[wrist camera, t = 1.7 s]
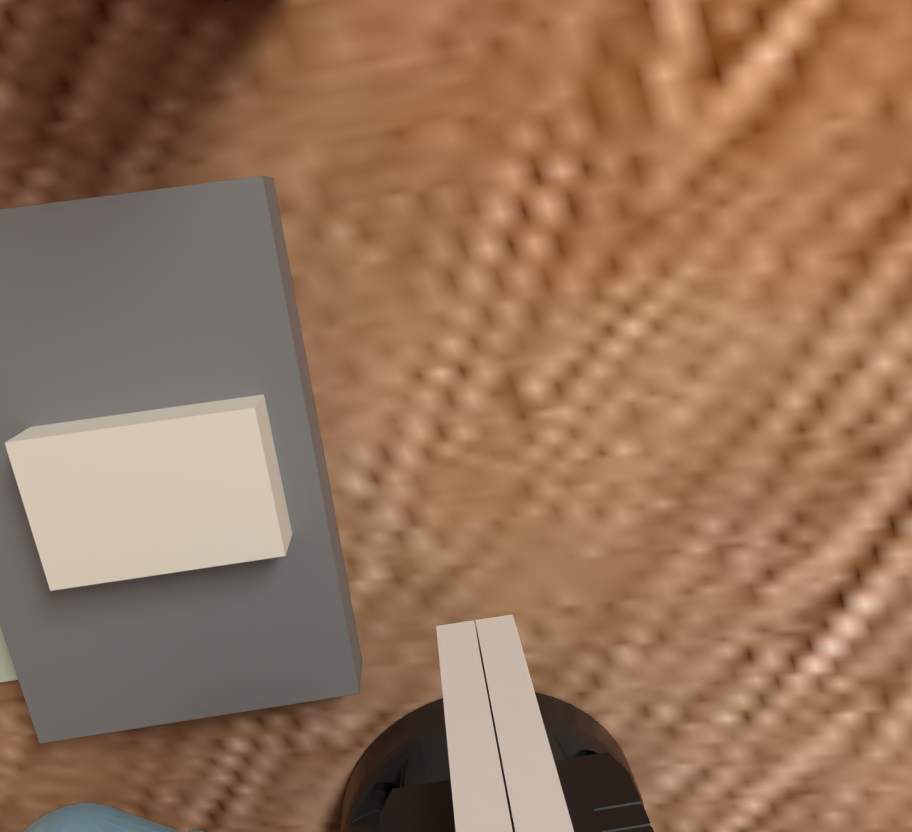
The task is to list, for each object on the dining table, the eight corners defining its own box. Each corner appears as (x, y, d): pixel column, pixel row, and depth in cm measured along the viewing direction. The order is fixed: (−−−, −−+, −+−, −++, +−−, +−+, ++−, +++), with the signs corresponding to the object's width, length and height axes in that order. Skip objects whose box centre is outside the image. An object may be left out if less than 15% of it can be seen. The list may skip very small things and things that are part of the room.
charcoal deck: (362, 660, 36) (359, 693, 33) (63, 706, 35) (39, 743, 33) (273, 178, 30) (262, 175, 27) (-90, 224, 29) (-134, 226, 27)
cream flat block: (264, 394, 29) (254, 407, 27) (292, 534, 31) (285, 555, 29) (30, 426, 29) (4, 442, 27) (71, 566, 31) (50, 590, 29)
